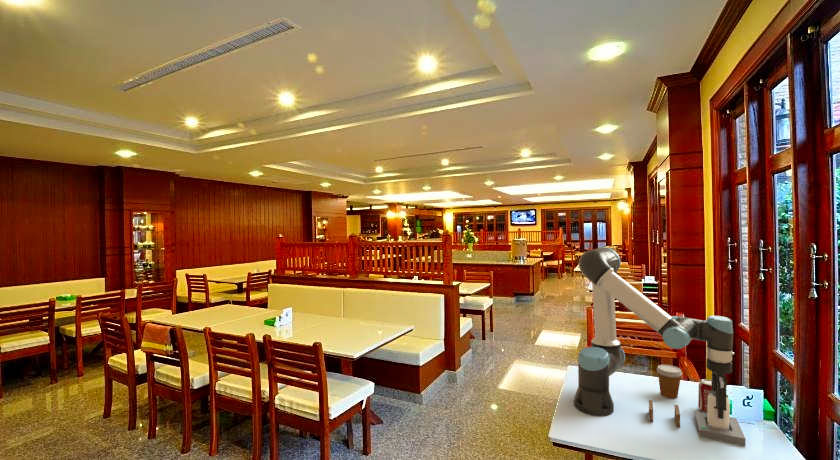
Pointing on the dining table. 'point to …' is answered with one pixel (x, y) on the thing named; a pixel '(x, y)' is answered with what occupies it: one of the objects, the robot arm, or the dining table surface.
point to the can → (712, 411)
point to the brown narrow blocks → (677, 413)
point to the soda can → (704, 394)
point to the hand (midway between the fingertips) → (718, 421)
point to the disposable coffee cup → (669, 380)
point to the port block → (719, 430)
